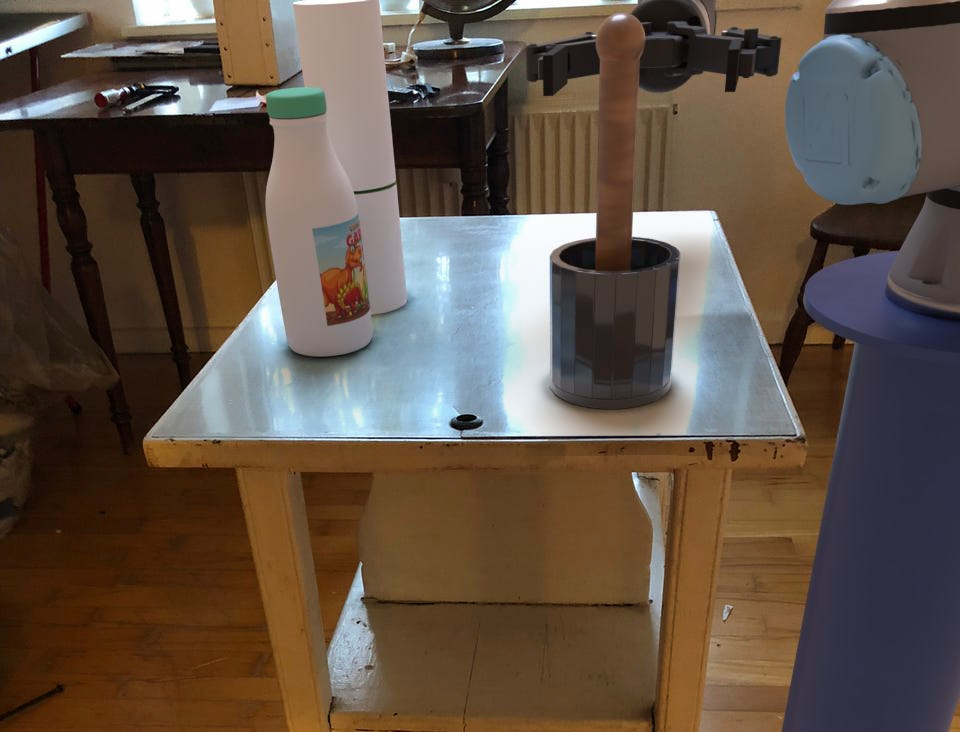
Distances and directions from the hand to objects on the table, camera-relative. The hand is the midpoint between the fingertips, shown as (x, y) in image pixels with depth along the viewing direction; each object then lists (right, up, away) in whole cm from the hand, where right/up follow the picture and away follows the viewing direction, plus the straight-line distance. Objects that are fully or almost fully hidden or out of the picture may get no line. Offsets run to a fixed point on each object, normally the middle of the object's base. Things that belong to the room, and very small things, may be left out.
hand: (637, 73), depth 72 cm
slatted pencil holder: (-1, -22, +5) cm, 22 cm away
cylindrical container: (-22, -9, +24) cm, 34 cm away
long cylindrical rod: (-1, -21, +4) cm, 22 cm away
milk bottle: (-25, -16, +15) cm, 33 cm away
